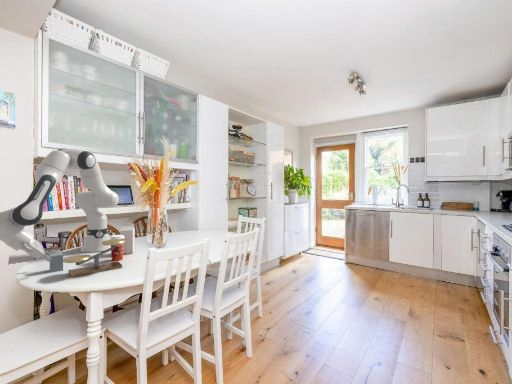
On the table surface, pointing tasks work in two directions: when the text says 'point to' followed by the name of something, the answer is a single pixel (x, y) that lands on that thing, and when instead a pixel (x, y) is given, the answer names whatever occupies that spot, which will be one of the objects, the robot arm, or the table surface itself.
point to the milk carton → (128, 237)
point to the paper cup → (117, 249)
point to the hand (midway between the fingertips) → (49, 257)
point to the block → (56, 262)
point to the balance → (96, 268)
